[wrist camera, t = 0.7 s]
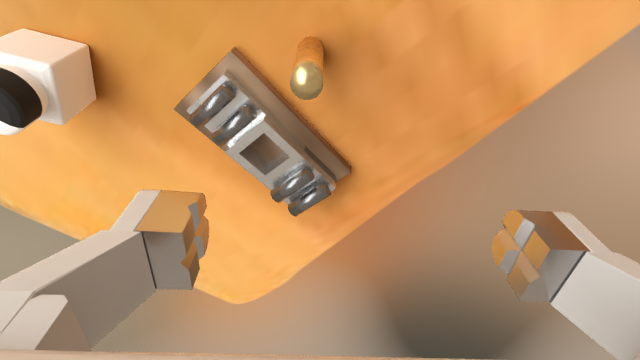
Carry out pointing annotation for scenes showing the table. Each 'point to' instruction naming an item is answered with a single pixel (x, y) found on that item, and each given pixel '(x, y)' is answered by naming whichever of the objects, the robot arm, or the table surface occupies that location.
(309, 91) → the pin
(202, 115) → the chain end left
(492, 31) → the table surface
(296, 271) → the table surface
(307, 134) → the chain base
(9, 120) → the medicine bottle
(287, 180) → the chain end right
